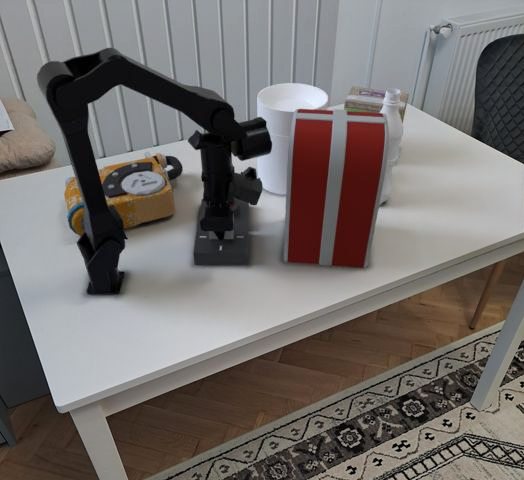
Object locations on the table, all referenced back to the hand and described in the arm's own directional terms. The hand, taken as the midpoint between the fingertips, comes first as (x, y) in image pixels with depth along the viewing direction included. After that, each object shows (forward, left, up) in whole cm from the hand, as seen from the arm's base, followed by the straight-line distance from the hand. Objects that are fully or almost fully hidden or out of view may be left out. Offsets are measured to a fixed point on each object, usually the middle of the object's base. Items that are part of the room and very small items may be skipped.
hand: (221, 235), depth 109 cm
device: (+17, +22, -4) cm, 29 cm away
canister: (+29, -16, -4) cm, 34 cm away
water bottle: (+19, -36, -4) cm, 41 cm away
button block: (+11, 0, -4) cm, 12 cm away
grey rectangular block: (0, 0, 0) cm, 0 cm away
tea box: (+43, -38, -4) cm, 58 cm away
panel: (0, 0, -4) cm, 4 cm away
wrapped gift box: (+2, -23, -4) cm, 23 cm away
